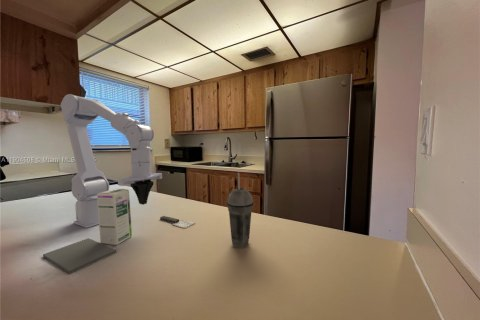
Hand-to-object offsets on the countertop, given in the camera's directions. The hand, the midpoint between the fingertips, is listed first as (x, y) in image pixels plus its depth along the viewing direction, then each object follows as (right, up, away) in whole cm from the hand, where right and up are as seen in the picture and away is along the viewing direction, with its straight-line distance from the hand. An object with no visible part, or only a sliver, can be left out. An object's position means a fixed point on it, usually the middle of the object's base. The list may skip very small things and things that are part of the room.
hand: (142, 203), depth 67 cm
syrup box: (-4, -9, -7) cm, 12 cm away
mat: (-9, -10, -15) cm, 20 cm away
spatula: (+9, -8, +6) cm, 13 cm away
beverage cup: (+32, -9, -10) cm, 35 cm away
